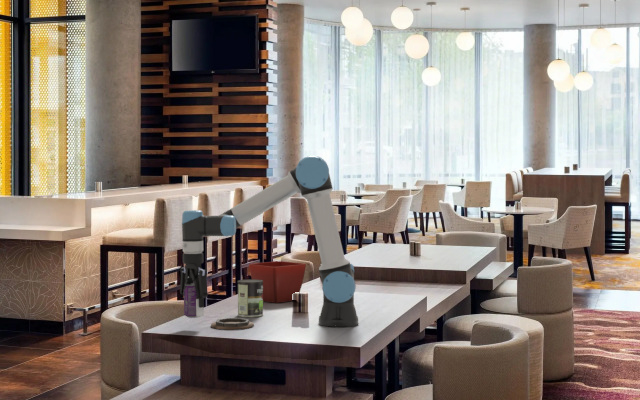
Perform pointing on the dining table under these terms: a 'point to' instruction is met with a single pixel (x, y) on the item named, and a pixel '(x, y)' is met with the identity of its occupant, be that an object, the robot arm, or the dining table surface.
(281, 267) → the plant pot
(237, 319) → the coaster
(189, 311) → the beverage can
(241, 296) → the coffee can
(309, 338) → the dining table surface
